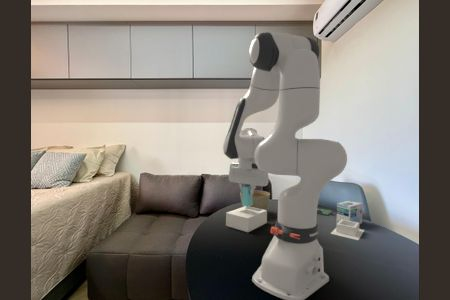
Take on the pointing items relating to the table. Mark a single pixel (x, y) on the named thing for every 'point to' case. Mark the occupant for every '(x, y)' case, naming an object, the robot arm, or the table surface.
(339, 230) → the holster
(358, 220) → the light bulb box
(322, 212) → the disk drive
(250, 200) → the plug
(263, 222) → the white box
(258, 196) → the planter bowl
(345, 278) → the table surface
